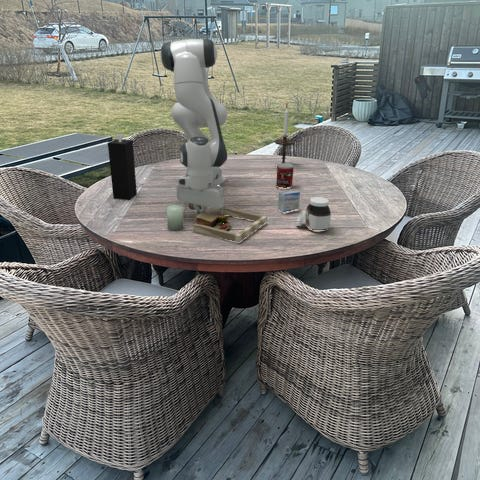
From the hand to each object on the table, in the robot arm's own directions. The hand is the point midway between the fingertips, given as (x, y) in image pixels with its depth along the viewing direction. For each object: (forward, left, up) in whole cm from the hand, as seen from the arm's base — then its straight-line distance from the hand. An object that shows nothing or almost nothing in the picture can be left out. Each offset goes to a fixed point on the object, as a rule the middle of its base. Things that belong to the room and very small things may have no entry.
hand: (200, 215), depth 174 cm
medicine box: (-28, +25, -3) cm, 38 cm away
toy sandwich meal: (+3, +8, -3) cm, 8 cm away
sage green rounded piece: (+11, -4, -2) cm, 12 cm away
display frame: (0, +13, -2) cm, 13 cm away
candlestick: (-91, -6, -3) cm, 92 cm away
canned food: (-57, +10, -3) cm, 58 cm away
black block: (-5, -44, -3) cm, 44 cm away
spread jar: (-16, +40, -3) cm, 43 cm away
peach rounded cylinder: (-11, -10, -2) cm, 15 cm away
